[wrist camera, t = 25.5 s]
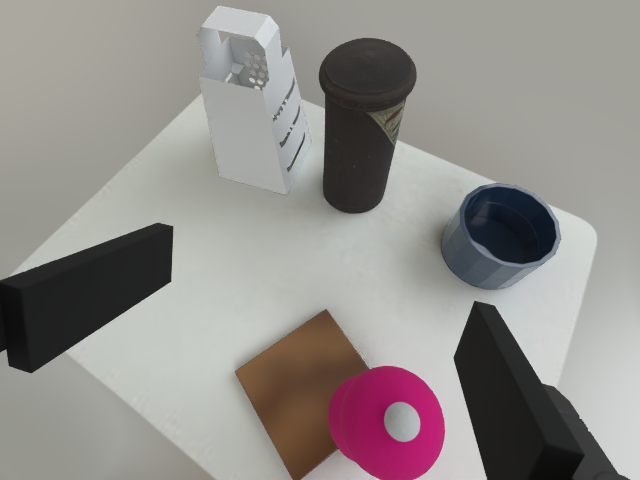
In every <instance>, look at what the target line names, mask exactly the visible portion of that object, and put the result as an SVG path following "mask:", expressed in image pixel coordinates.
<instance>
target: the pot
mask: <svg viewBox="0 0 640 480" xmlns="http://www.w3.org/2000/svg"><path fill="white" fill-rule="evenodd" d="M560 240H561V235H560V228H559V222H558V220H557V219H556V217H555V216H554V214H553V212H552V211H551V209H550V207H549V206H548V205H547V204H546V203H544V202H543V201H542V200H541V199H540V198H538V197H537V196H536V195H535V194H533V193H531V192H529V191H527V190H525V189H522V188H520V187H518V186H515V185H508V184H500V183H494V184H489V185H484V186H480V187H478V188H477V189H475V190H474V191H472V192H471V193H469V194H468V195H467V196H466V197H465V199H464V200H463V202H462V203H461V205H460V206H459V208H458V209H457V211H456V213H455V214H454V216H453V217H452V219H451V220H450V222H449V223H448V225H447V227H446V229H445V230H444V232H443V234H442V239H441V250H442V254H443V257H444V260H445V262H446V263H447V265H448V267H449V268H450V269H451V270H452V272H453V273H454V274H455V275H456V276H458V277H459V278H460V279H461V280H463V281H465V282H466V283H468V284H470V285H472V286H475V287H478V288H482V289H489V290H496V289H502V288H506V287H508V286H512V285H513V284H515V283H516V282H518V281H519V280H521V279H522V278H524V277H525V276H526V275H528V274H529V273H531V272H532V271H534V270H535V269H537V268H538V267H540V266H541V265H542V264H544V263H545V262H546V261H547V260H549V259H550V258H551V257H552V256H554V255H555V254H556V251H557V249H558V246H559V243H560Z"/></svg>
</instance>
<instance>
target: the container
mask: <svg viewBox="0 0 640 480" xmlns="http://www.w3.org/2000/svg"><path fill="white" fill-rule="evenodd" d="M319 82H320V85H321V88H322V90H323V91H324V93H325V147H324V173H323V192H324V196H325V198H326V200H327V201H328V202H329V203H330V204H331V205H332V206H333V207H334V208H336V209H338V210H340V211H343V212H347V213H362V212H366V211H369V210H371V209H373V208H374V207H375V206H377V205H378V204H379V203H380V201H381V200H382V198H383V195H384V192H385V188H386V183H387V179H388V174H389V170H390V166H391V161H392V157H393V153H394V149H395V144H396V140H397V136H398V131H399V126H400V122H401V118H402V114H403V110H404V105H405V101H406V97H407V96H408V95H409V93H410V92H411V91H412V89H413V87H414V85H415V82H416V67H415V64H414V62H413V61H412V59H411V58H410V56H409V55H407V53H406V52H405V51H403V49H401V48H400V47H398V46H397V45H395V44H393V43H391V42H388V41H385V40H380V39H374V38H361V39H356V40H352V41H349V42H346V43H344V44H342V45H340V46H338V47H336V48H335V49H333V50H332V51H331V52H330V53H329V54H328V55H327V56H326V58H325V59H324V60H323V62H322V64H321V67H320V71H319Z"/></svg>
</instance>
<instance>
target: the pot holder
mask: <svg viewBox="0 0 640 480" xmlns="http://www.w3.org/2000/svg"><path fill="white" fill-rule="evenodd" d="M368 370H370V369H369V368H368V367H367V365H366V364H365V362H364V361H363V360H362V358H361V357H360V355H359V354H358V353H357V351H356V350H355V348H354V347H353V345H352V344H351V343H350V341H349V340H348V338H347V337H346V336H345V334H344V333H343V331H342V330H341V329H340V327H339V326H338V324H337V323H336V322H335V320H334V319H333V317H332V316H331V315H330V313H329V312H328V310H327V309H325V310H324V311H322V312H321V313H320V314H318V315H317V316H315V317H314V318H312V319H311V320H309V321H308V322H306V323H305V324H304V325H302V326H301V327H299V328H298V329H296V330H295V331H293V332H292V333H290V334H289V335H288V336H286V337H285V338H283V339H282V340H280V341H279V342H277V343H276V344H274V345H273V346H271V347H270V348H269V349H267V350H266V351H264V352H263V353H261V354H260V355H258V356H257V357H255V358H254V359H253V360H251V361H250V362H248V363H247V364H245V365H244V366H242V367H241V368H239V369H238V370H237V371H235V373H236V375H237V377H238V379H239V381H240V383H241V384H242V386H243V388H244V390H245V392H246V394H247V396H248V397H249V399H250V401H251V403H252V405H253V407H254V409H255V410H256V412H257V414H258V416H259V418H260V420H261V422H262V423H263V425H264V427H265V429H266V431H267V433H268V435H269V436H270V438H271V440H272V442H273V444H274V446H275V448H276V449H277V451H278V453H279V455H280V457H281V459H282V461H283V462H284V464H285V466H286V468H287V470H288V472H289V474H290V475H291V477H292V479H293V480H301V479H302V478H303V477H305V476H306V475H307V474H308V473H310V472H311V471H312V470H313V469H314V468H316V467H317V466H318V465H319V464H320V463H322V462H323V461H324V460H325V459H327V458H328V457H329V456H330V455H331V454H333V453H334V452H335V451H336V450H338V449H339V448H338V447H337V445H336V444H335V442H334V440H333V438H332V435H331V433H330V429H329V424H328V411H329V405H330V402H331V399H332V397H333V395H334V393H335V391H336V390H337V389H338V387H339V386H340V385H341V384H342V383H344V382H345V381H346V380H348V379H350V378H352V377H354V376H357V375H361V374H362V373H364V372H366V371H368Z"/></svg>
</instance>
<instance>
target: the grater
mask: <svg viewBox="0 0 640 480" xmlns="http://www.w3.org/2000/svg"><path fill="white" fill-rule="evenodd" d="M218 30H221V31H226V32H231V33H236V34H240V35H246V36H250V37H254V38H255V39H256V40H257V41H254V40H249V39H244V38H240V37H235V36H230V35H229V36H228V37H227V38H226V40H225V41H224V43H223V44H221V41H220V37H219V33H218ZM197 38H198V41H199V44H200V47H201V50H202V53H203V56H204V59H205V62H206V67H205V68H204V69H203V71H202V72H201V73H200V75H199V81H200V86H201V90H202V95H203V100H204V105H205V110H206V114H207V119H208V124H209V129H210V133H211V138H212V143H213V148H214V152H215V157H216V162H217V167H218V172H219V176H220V177H222V178H226V179H230V180H233V181H237V182H240V183H244V184H248V185H251V186H255V187H258V188H262V189H266V190H269V191H273V192H277V193H280V194H284V195H287V194H288V192H289V190H290V187H291V185H292V183H293V181H294V179H295V177H296V174H297V172H298V170H299V168H300V166H301V163H302V161H303V159H304V157H305V155H306V153H307V150H308V148H309V146H310V144H311V142H312V141H311V137H310V133H309V129H308V125H307V121H306V117H305V113H304V109H303V105H302V101H301V96H300V92H299V88H298V84H297V80H296V76H295V72H294V68H293V64H292V60H291V56H290V52H289V48H288V47H284V46H281V41H280V33H279V27H278V26H277V25H276V23H275V22H274V21H273V19H272V18H271V17H270V16H269V15H265V14H260V13H255V12H249V11H244V10H238V9H234V8H228V7H223V6H218V7H217V8H216V9H215V10H214V11H213V13H212V14H211V15H210V16H209V18H208V19H207V20H206V21H205V22H204V24H203V25H202V26H201V28H200V30H199V32H198V33H197ZM246 52H248V53H250V54H251V56H252V58H251V59H248V58H247V57H246V56H245V53H246ZM255 54H257V55H259V56H260V58H261V60H260V61H257V60H256V59H255V58H254V55H255ZM264 56H266V61H267V62H265V61H264V60H263V57H264ZM245 61H248V62H249V63H250V64H251V67H247V66H245V64H244V62H245ZM253 63H257V64H258V65H259V69H256V68H254V67H253ZM261 65H266V66H267V67H268V70H267V71H264V70H263V69H262V68H261ZM250 70H254V71H255V72H256V76H253V75H252V74H251V73H250ZM230 72H231V73H233V74H232V76H231V78H230V80H229V81H228V83H226V82H224V81H225V79H226V78H227V76H228V75H229V74H230ZM258 72H262V73H264V75H265V77H264V78H262V77H260V76H259V74H258ZM267 74H269V78H268V77H267ZM249 78H253V79H254V80H255V83H252V82H250V80H249ZM258 79H260V80H262V81H263V85H260V84H259V83H258V82H257V80H258ZM266 81H268V83H267V84H265V82H266ZM254 86H259V87H260V90H257V89H255V88H254ZM263 87H265V88H264V89H263V90H262V88H263ZM285 99H288V101H287V102H285ZM282 104H284V105H285V106H284V108H282V107H281V105H282ZM280 110H281V111H282V112H281V114H280ZM272 115H274V116H275V117H274V118H272ZM277 115H279V117H278V118H277ZM275 120H276V121H275ZM292 124H293V125H294V127H293V128H292V127H291V125H292ZM289 129H291V132H288V131H289ZM286 135H287V136H289V137H288V139H287V141H286V143H285V145H284V146H283V147H282V148H281V146H280V143H279V142H282V141H284V139H285V137H286ZM302 140H304V143H303V145H302V147H301V149H300V151H299V154H298V156H297V158H296V160H295V162H294V164H293V166H292V168H291V170H290V171H289V172H288V170H287V167H289V166H290V165H291V163H292V161H293V159H294V157H295V155H296V153H297V150H298V148H299V146H300V144H301V142H302Z"/></svg>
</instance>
